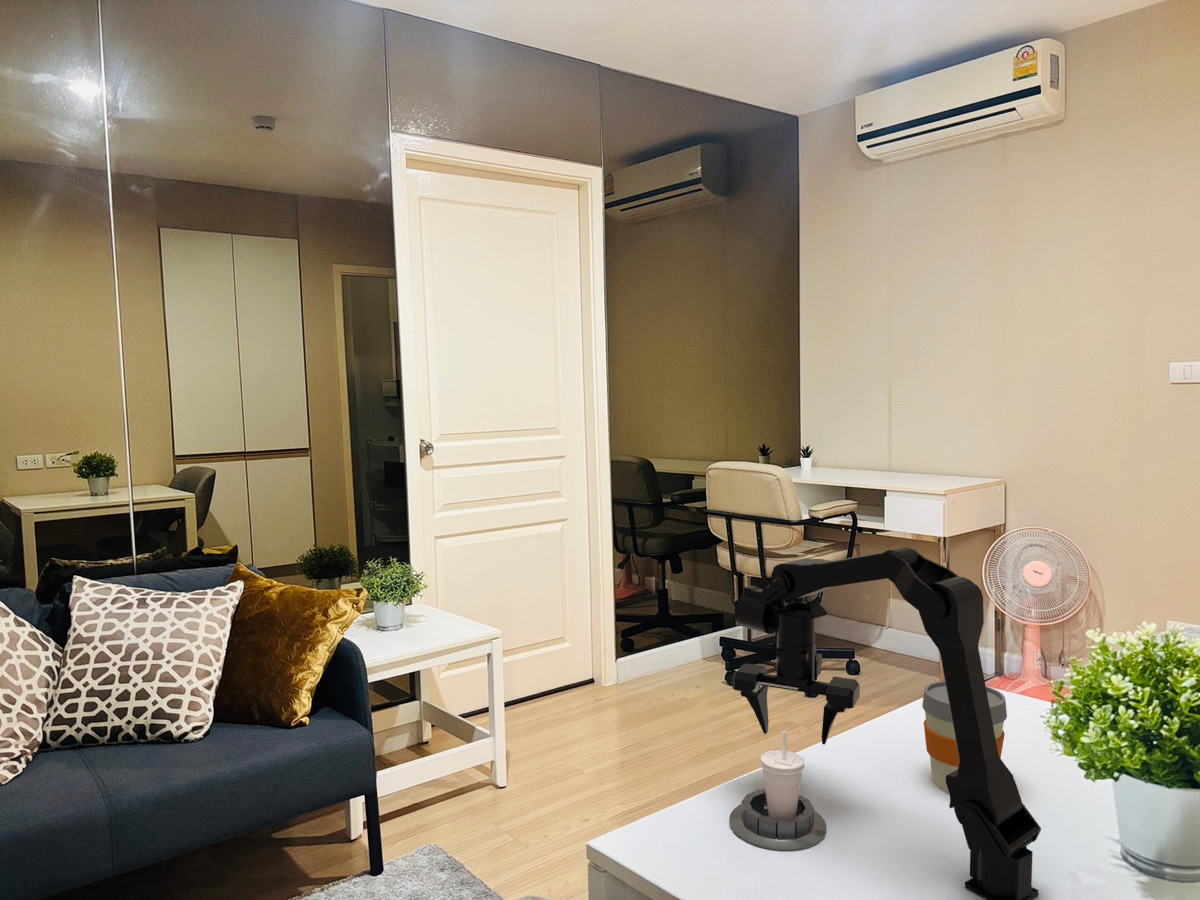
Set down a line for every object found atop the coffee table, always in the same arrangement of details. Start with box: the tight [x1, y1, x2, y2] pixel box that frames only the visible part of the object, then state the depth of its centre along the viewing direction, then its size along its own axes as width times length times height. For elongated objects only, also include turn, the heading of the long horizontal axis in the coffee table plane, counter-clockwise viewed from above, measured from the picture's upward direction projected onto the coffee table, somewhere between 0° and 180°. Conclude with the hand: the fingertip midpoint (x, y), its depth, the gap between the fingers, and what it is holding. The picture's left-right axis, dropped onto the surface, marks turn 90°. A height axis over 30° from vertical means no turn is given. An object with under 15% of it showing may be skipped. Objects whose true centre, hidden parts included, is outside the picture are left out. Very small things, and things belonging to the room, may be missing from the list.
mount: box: [729, 788, 827, 852], centre depth 129 cm, size 14×14×3 cm
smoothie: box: [760, 730, 806, 819], centre depth 128 cm, size 6×6×14 cm
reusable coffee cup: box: [922, 680, 1008, 794], centre depth 141 cm, size 12×13×15 cm
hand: (794, 738), depth 137 cm, fingers open, 9 cm apart
